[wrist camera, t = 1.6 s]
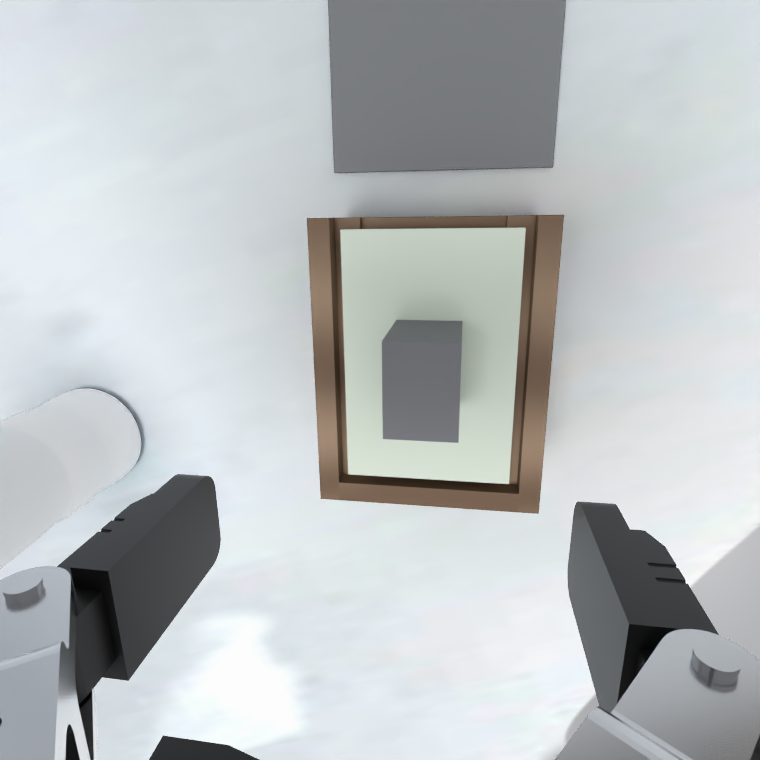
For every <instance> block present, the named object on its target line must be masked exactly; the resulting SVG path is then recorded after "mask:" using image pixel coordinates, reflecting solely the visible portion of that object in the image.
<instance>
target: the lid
mask: <svg viewBox="0 0 760 760" xmlns="http://www.w3.org/2000/svg"><path fill="white" fill-rule="evenodd" d="M525 232H526V228H523V227H522V228H418V229H342V230H340V237H341V268H342V299H343V330H344V361H345V392H346V423H347V454H348V474H351V475H367V476H383V477H400V478H416V479H432V480H449V481H465V482H481V483H497V484H509V477H510V461H511V446H512V431H513V416H514V400H515V385H516V370H517V355H518V339H519V324H520V309H521V293H522V278H523V263H524V248H525Z"/></svg>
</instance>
